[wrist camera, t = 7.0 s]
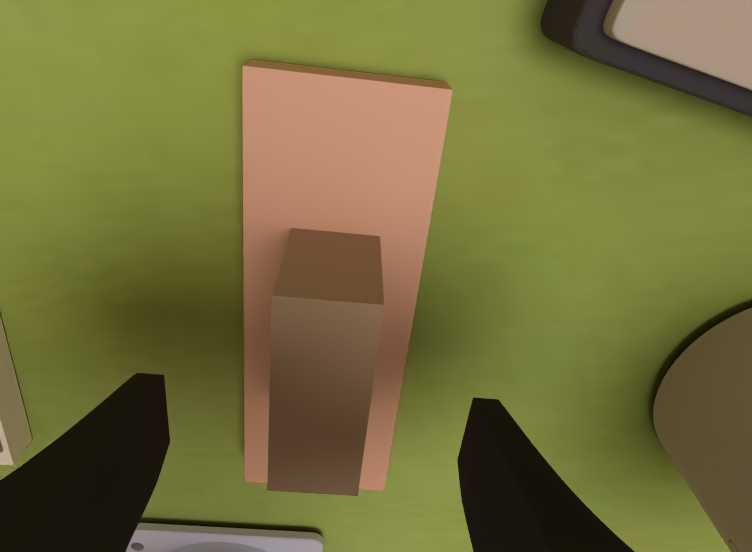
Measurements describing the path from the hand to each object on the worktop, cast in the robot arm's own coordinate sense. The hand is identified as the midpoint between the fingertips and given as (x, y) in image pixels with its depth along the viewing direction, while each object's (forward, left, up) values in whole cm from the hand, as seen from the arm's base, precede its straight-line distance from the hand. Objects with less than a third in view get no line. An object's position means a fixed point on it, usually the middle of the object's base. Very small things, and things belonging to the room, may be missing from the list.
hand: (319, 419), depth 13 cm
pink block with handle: (0, 0, -5) cm, 5 cm away
